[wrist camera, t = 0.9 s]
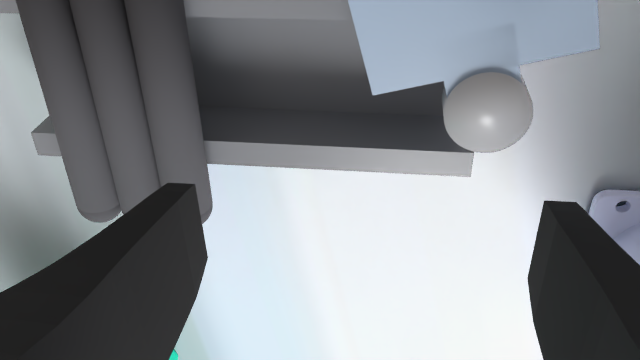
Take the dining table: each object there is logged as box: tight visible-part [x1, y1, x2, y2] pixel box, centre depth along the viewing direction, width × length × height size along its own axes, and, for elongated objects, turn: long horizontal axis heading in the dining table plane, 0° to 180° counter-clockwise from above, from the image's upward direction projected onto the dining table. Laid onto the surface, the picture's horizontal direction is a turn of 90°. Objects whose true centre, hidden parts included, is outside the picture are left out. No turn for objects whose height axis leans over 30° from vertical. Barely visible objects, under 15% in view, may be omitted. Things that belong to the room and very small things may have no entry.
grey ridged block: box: [16, 0, 212, 224], centre depth 19 cm, size 5×10×2 cm, turn 1°
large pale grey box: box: [0, 0, 474, 177], centre depth 20 cm, size 16×6×3 cm, turn 91°
